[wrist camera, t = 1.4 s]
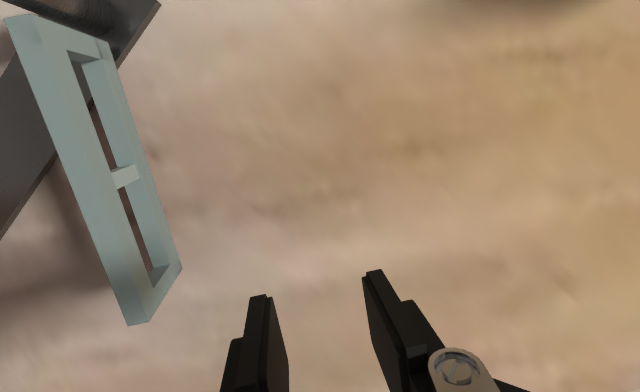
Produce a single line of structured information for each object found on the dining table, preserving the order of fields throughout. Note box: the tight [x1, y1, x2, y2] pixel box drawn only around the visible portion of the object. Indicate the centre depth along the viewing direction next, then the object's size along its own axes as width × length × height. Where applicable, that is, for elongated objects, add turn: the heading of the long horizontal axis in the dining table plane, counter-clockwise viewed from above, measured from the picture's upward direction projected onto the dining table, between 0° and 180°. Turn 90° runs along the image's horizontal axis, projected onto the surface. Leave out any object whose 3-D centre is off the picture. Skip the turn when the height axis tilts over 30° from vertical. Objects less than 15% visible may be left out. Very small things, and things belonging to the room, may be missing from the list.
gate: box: [3, 14, 182, 326], centre depth 24 cm, size 20×2×8 cm, turn 10°
